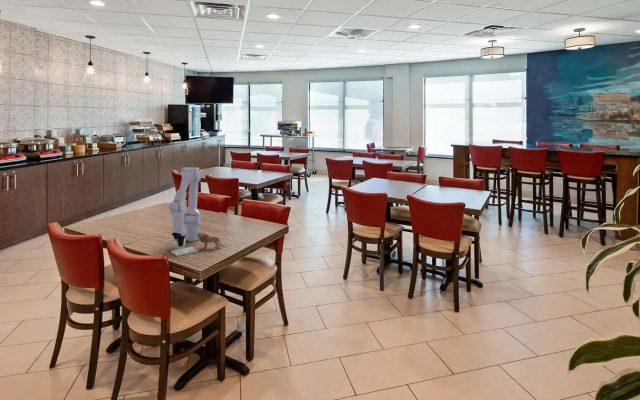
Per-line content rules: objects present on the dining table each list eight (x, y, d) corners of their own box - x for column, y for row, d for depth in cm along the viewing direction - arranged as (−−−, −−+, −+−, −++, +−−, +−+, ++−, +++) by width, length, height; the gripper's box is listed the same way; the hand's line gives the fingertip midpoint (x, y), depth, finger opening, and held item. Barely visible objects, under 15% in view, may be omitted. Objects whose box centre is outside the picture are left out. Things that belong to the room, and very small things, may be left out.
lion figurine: (196, 248, 227) (195, 233, 225) (199, 246, 232) (198, 231, 230) (222, 248, 227) (222, 233, 225) (224, 246, 232) (224, 231, 231)
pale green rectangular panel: (170, 252, 220) (170, 250, 220) (191, 248, 228) (191, 246, 228) (177, 256, 214) (177, 254, 214) (198, 251, 221) (198, 250, 221)
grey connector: (168, 249, 226) (167, 240, 225) (184, 246, 232) (184, 237, 231) (170, 250, 224) (169, 241, 223) (186, 247, 230) (186, 238, 229)
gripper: (166, 221, 229) (167, 243, 231) (176, 226, 218) (177, 249, 220) (178, 219, 233) (179, 241, 236) (188, 223, 222) (189, 247, 225)
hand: (179, 245), depth 228 cm, fingers closed on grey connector, 3 cm apart
